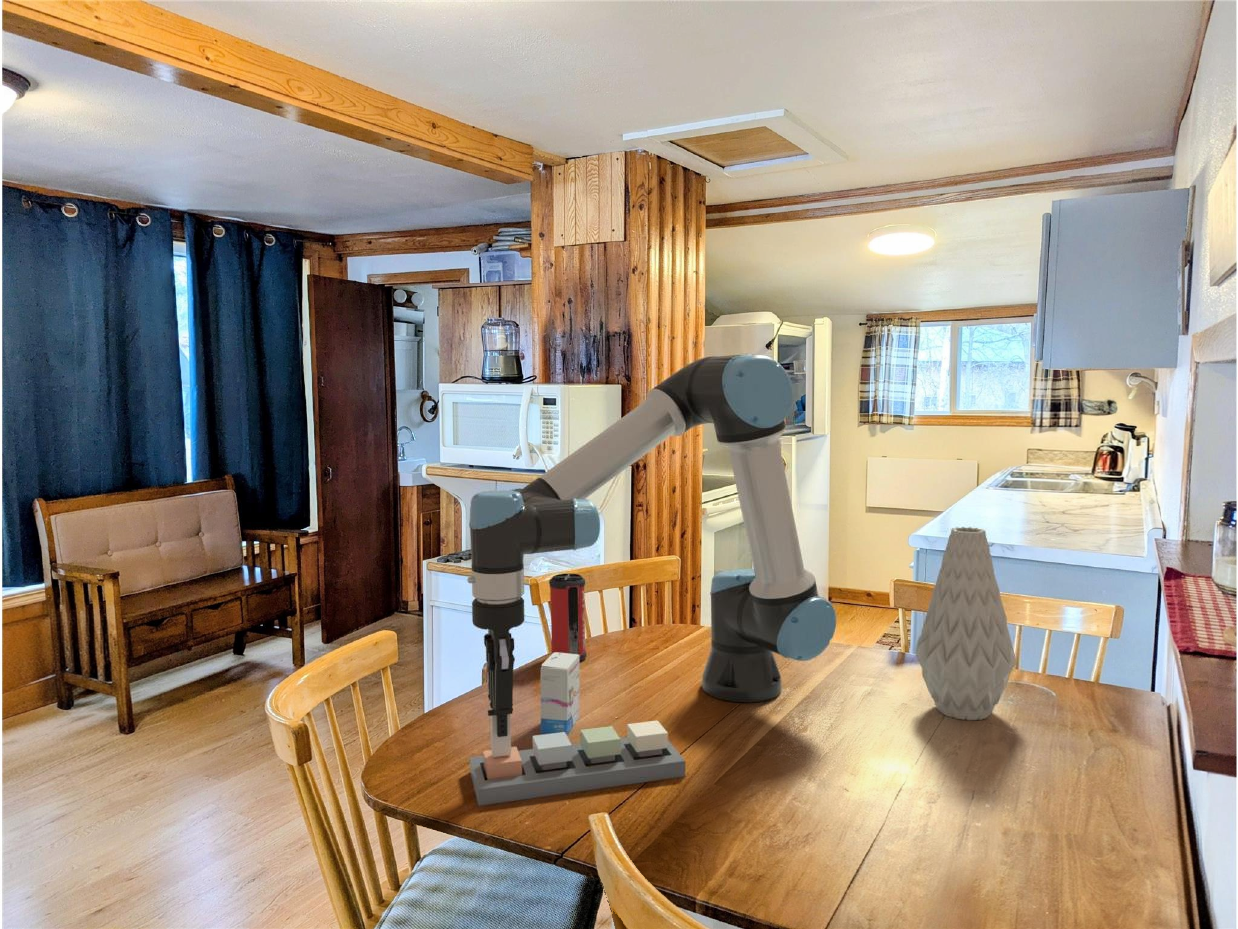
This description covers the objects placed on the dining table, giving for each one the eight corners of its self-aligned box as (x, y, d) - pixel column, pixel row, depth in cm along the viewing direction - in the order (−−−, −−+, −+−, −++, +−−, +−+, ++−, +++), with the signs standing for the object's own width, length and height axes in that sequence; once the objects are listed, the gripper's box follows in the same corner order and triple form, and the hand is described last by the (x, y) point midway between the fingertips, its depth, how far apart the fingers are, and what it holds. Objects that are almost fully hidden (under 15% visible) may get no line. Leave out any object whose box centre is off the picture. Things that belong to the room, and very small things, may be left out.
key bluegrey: (565, 754, 133) (564, 731, 132) (572, 768, 128) (571, 745, 127) (533, 758, 131) (532, 735, 131) (538, 772, 126) (538, 749, 126)
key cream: (657, 742, 137) (657, 720, 136) (667, 755, 132) (667, 732, 132) (627, 746, 135) (627, 724, 135) (636, 759, 131) (636, 736, 130)
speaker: (554, 652, 190) (552, 572, 188) (588, 653, 189) (587, 572, 187) (547, 663, 182) (545, 580, 180) (583, 664, 181) (582, 580, 179)
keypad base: (662, 746, 140) (662, 732, 140) (685, 776, 130) (685, 760, 129) (470, 772, 132) (469, 757, 132) (478, 805, 121) (477, 789, 121)
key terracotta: (516, 769, 131) (516, 746, 130) (522, 784, 126) (521, 760, 126) (483, 773, 129) (483, 750, 129) (488, 788, 125) (487, 764, 124)
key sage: (612, 748, 135) (611, 726, 134) (620, 761, 130) (620, 738, 130) (580, 752, 133) (580, 729, 133) (588, 766, 129) (588, 742, 128)
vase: (960, 688, 165) (964, 518, 162) (1035, 718, 150) (1042, 532, 147) (893, 703, 158) (896, 526, 154) (964, 736, 143) (970, 541, 140)
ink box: (568, 736, 145) (567, 668, 144) (539, 734, 146) (538, 666, 145) (580, 717, 153) (579, 652, 152) (553, 715, 154) (552, 650, 153)
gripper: (467, 589, 130) (471, 739, 132) (477, 610, 118) (480, 776, 120) (516, 585, 132) (519, 734, 135) (531, 606, 120) (534, 769, 122)
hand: (501, 754), depth 127 cm, fingers closed
